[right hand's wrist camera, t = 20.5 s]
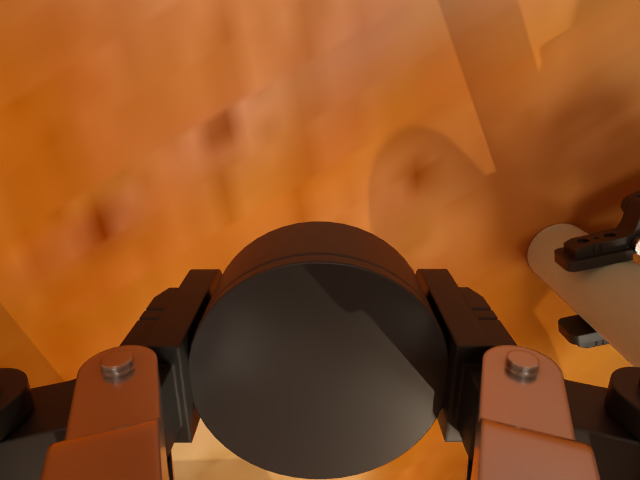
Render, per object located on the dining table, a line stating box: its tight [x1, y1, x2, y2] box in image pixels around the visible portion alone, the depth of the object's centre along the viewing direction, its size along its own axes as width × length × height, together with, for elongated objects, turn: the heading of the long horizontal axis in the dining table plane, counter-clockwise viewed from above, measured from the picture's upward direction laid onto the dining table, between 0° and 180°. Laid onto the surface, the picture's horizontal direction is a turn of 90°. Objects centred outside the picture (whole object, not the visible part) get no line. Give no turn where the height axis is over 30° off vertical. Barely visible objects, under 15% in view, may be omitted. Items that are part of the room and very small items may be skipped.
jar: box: [527, 224, 640, 367], centre depth 26 cm, size 5×5×18 cm
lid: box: [188, 222, 449, 479], centre depth 10 cm, size 5×5×2 cm
